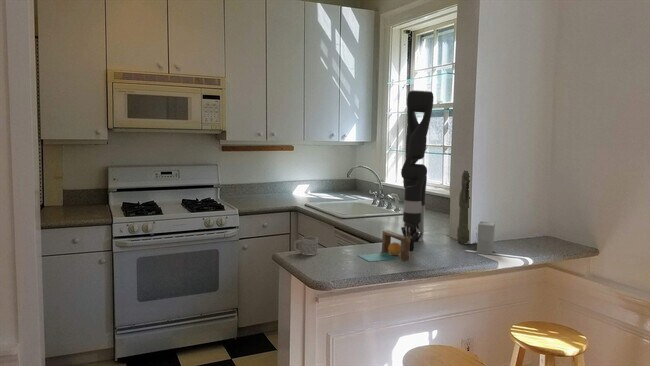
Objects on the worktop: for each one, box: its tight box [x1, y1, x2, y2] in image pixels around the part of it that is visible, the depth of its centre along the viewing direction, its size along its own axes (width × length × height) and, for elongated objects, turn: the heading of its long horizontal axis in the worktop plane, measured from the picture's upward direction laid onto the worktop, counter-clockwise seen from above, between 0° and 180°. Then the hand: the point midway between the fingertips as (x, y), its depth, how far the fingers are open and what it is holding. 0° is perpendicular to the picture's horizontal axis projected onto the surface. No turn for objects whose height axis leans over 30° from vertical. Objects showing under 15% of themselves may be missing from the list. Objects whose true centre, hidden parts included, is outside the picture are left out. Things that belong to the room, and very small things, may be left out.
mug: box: [293, 236, 319, 255], centre depth 212 cm, size 10×7×7 cm, turn 99°
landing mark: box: [357, 252, 400, 263], centre depth 209 cm, size 10×14×1 cm
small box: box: [476, 221, 496, 256], centre depth 223 cm, size 8×6×13 cm
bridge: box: [381, 229, 411, 262], centre depth 212 cm, size 3×17×9 cm, turn 23°
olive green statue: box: [456, 169, 470, 244], centre depth 241 cm, size 9×12×35 cm
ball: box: [388, 242, 401, 257], centre depth 213 cm, size 6×6×6 cm
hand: (410, 251), depth 215 cm, fingers closed
